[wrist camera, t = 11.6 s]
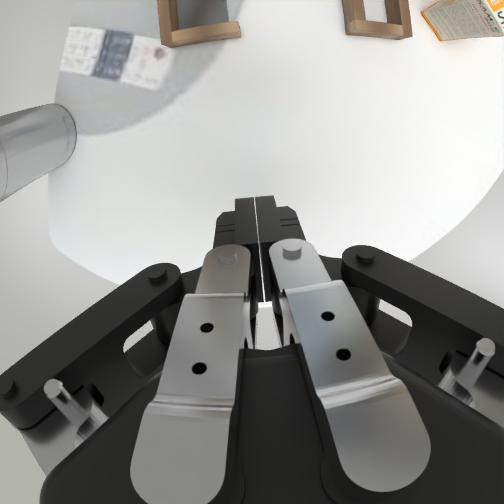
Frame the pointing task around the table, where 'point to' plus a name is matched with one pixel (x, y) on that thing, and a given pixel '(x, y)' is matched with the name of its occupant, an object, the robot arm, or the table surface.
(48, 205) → the table surface
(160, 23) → the frame
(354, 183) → the table surface
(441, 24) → the supplement box
